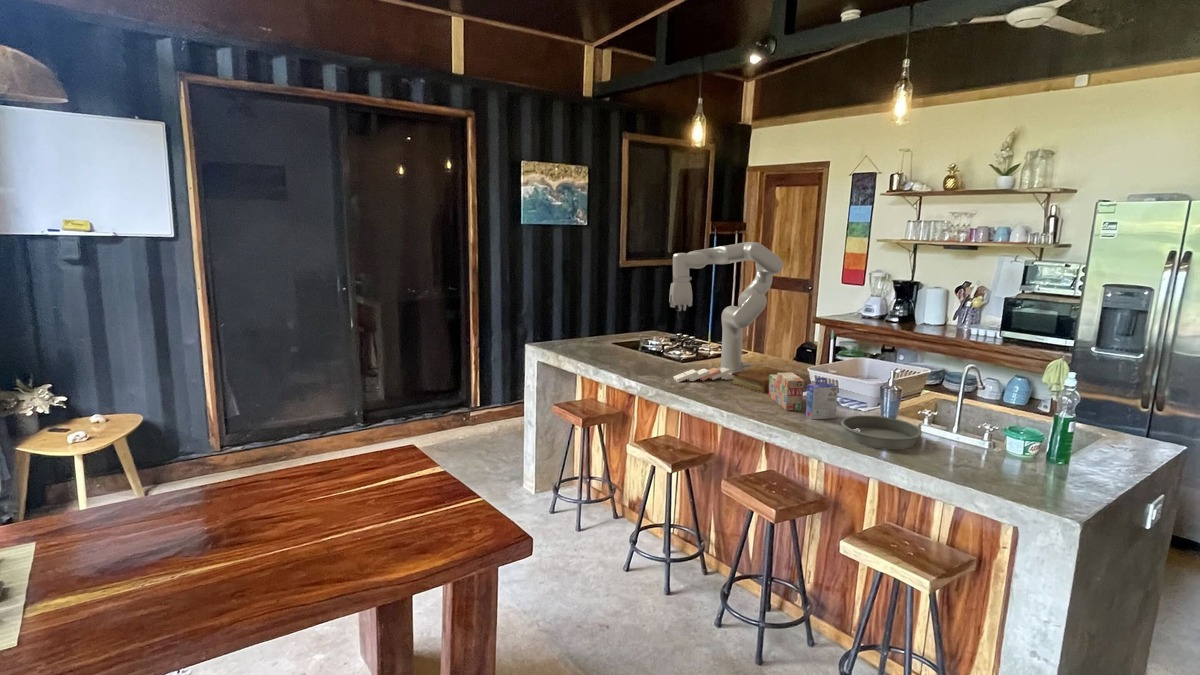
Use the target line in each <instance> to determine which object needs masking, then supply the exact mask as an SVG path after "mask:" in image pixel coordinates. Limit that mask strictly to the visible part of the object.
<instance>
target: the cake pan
mask: <svg viewBox="0 0 1200 675" xmlns="http://www.w3.org/2000/svg"><path fill="white" fill-rule="evenodd" d="M840 422H841V425H842V426H843V428H844V433H845V436H846V438H848V440H850V439H851V440H850V441H853V442H854V443H857V444H859V445H863V446H866V447H872V448H875V449H881V450H882V449H883V450H884V449H885V450H904V449H909V448H912V447H914V446H915V444H916V442H917V439H918V438H919V437H920V436H921V435H922V434H923V431H922V430H921V428H920V427H918V426H917V425H915V424H913V423H910V422H908V421H904V420H901V419H898V418H893V417H887V416H878V415H868V414H867V415H864V414H863V415H862V414H861V415H851V416H847V417H845V418H843V419H841V421H840ZM856 428H859V429H860V430H861V431H860V432H858V431H855V430H853V429H856ZM862 429H863V430H862Z"/></svg>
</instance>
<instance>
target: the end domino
mask: <svg viewBox="0 0 1200 675" xmlns="http://www.w3.org/2000/svg"><path fill="white" fill-rule="evenodd" d="M731 374H732V373H729V374H726V375H724V376H721V377H719V378H718V379H720V378H721V379H720V380H722V379H725V380H733V376H734V375H731Z"/></svg>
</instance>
